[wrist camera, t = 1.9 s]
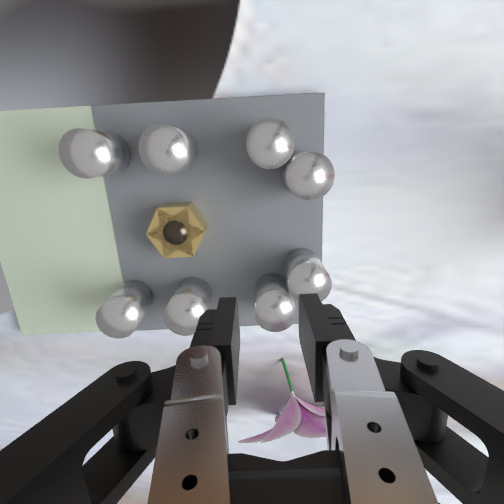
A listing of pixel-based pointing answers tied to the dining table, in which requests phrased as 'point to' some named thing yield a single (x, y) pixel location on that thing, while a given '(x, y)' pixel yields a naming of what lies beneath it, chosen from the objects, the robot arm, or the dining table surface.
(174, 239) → the nut
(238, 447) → the dining table surface
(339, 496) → the robot arm
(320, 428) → the lily
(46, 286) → the board
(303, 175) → the spacers
